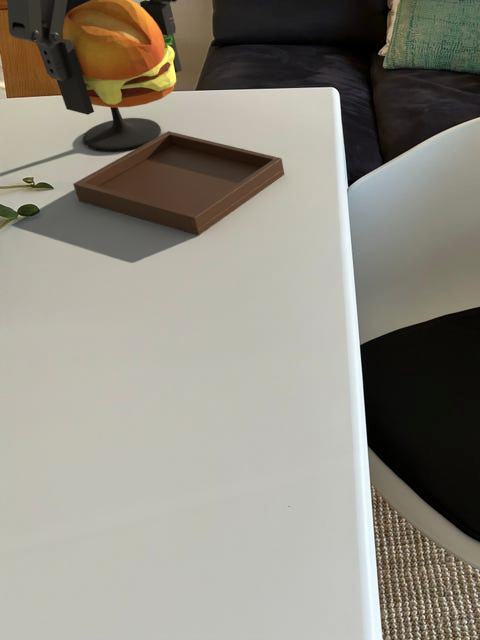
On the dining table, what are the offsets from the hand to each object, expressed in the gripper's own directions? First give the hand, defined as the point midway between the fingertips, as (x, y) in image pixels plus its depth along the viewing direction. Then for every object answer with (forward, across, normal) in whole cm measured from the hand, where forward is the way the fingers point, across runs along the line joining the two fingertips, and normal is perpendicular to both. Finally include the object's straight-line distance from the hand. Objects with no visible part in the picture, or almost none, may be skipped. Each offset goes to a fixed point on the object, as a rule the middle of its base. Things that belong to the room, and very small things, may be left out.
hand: (127, 89), depth 77 cm
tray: (+18, +11, +8) cm, 22 cm away
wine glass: (+18, +18, +26) cm, 36 cm away
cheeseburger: (+1, 0, 0) cm, 1 cm away
